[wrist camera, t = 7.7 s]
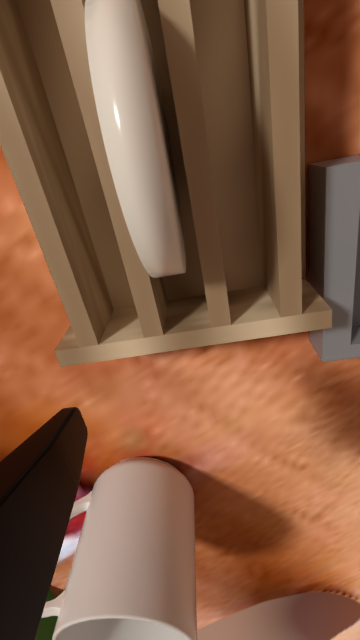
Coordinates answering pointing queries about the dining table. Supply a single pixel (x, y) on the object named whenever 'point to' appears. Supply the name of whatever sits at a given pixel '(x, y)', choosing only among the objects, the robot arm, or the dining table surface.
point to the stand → (336, 253)
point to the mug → (132, 558)
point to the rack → (190, 169)
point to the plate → (135, 132)
